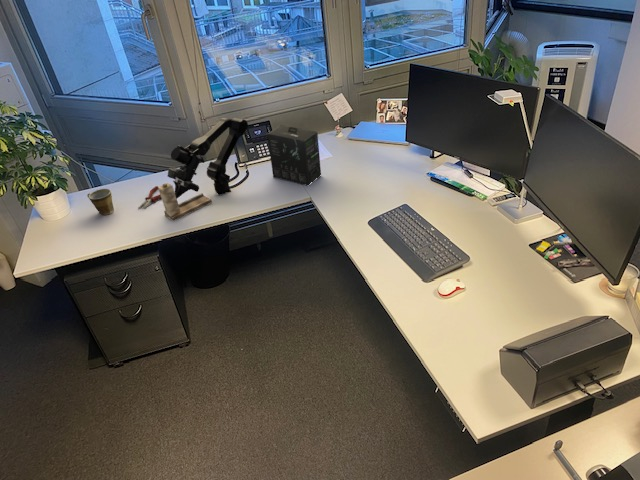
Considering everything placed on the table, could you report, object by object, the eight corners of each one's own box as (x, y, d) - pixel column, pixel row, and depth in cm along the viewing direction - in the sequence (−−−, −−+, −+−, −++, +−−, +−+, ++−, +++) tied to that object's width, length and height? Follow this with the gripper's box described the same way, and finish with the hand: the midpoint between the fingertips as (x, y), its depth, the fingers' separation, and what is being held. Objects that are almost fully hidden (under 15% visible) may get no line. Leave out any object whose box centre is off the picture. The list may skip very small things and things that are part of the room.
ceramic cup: (122, 207, 226) (115, 189, 220) (108, 218, 218) (100, 200, 212) (101, 204, 230) (93, 187, 224) (87, 215, 222) (78, 197, 216)
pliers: (131, 209, 224) (129, 204, 222) (157, 189, 239) (155, 184, 237) (150, 212, 220) (148, 207, 218) (175, 191, 235) (174, 187, 233)
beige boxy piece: (174, 207, 217) (165, 179, 208) (182, 213, 212) (173, 185, 203) (164, 212, 214) (155, 184, 206) (173, 218, 209) (163, 189, 201)
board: (202, 197, 226) (201, 192, 225) (211, 202, 221) (210, 197, 220) (165, 215, 216) (163, 210, 214) (173, 220, 211) (172, 216, 209)
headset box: (322, 175, 233) (317, 127, 218) (309, 186, 225) (303, 136, 210) (286, 168, 244) (279, 121, 229) (272, 178, 236) (264, 130, 221)
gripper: (165, 155, 210) (150, 186, 210) (186, 166, 198) (170, 199, 199) (185, 164, 219) (170, 194, 219) (206, 175, 207) (191, 207, 208)
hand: (175, 198), depth 211 cm, fingers closed, pressing on beige boxy piece
